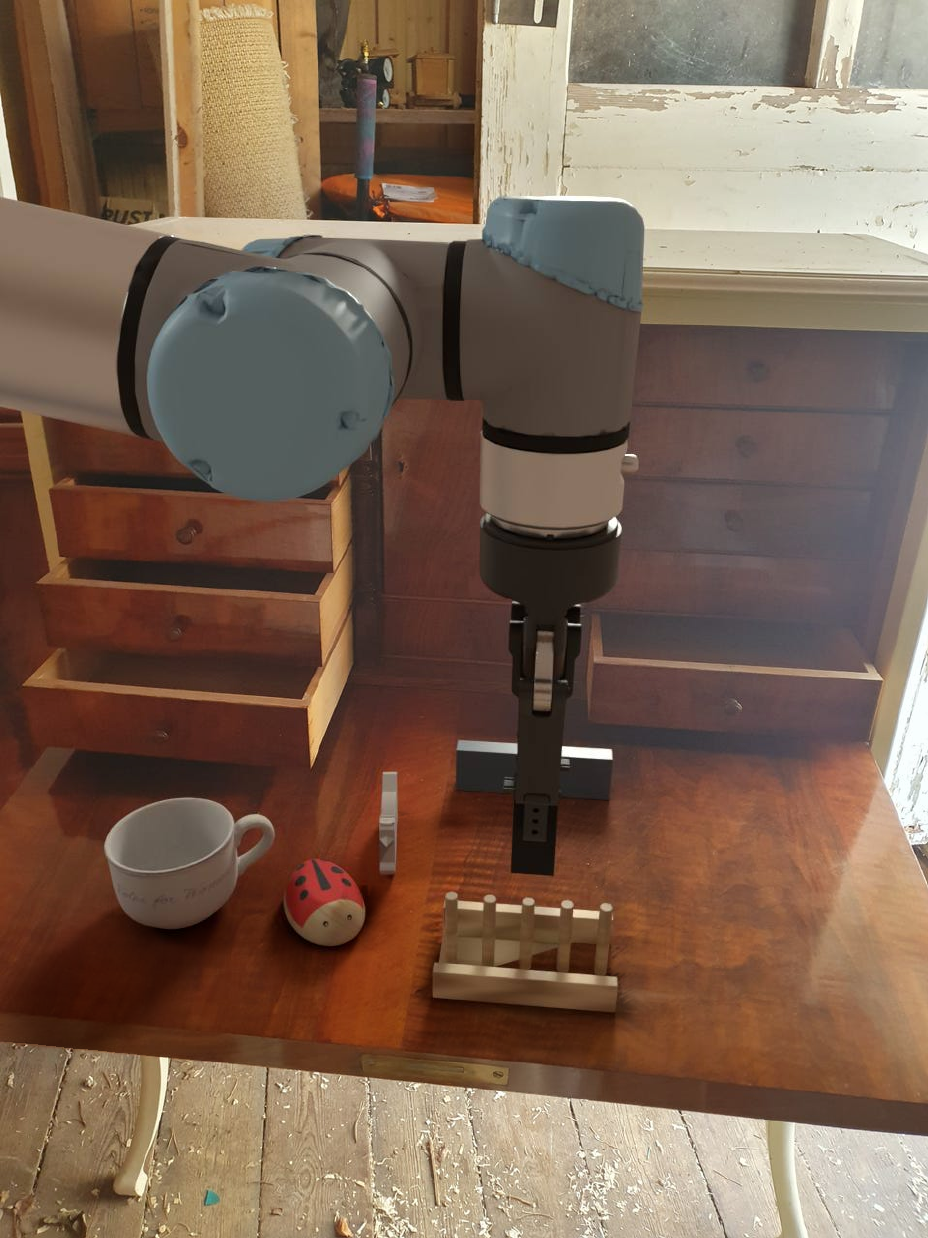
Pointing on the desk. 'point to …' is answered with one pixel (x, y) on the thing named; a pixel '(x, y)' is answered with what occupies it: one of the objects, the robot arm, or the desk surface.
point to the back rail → (495, 760)
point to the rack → (522, 954)
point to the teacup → (180, 860)
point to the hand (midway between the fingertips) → (532, 866)
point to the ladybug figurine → (324, 903)
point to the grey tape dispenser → (388, 823)
